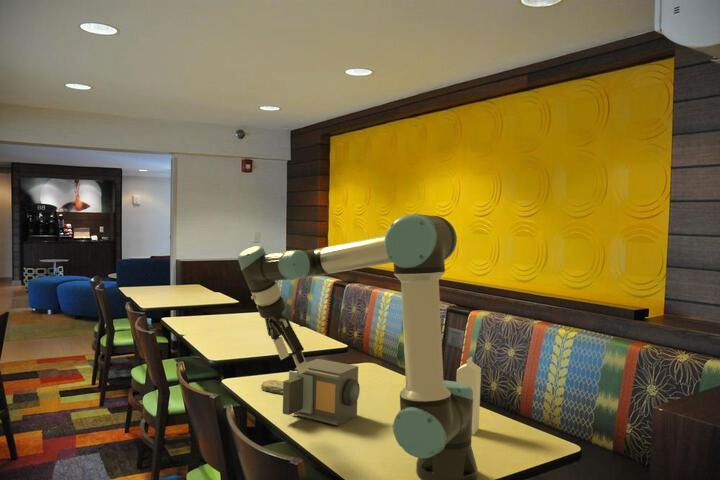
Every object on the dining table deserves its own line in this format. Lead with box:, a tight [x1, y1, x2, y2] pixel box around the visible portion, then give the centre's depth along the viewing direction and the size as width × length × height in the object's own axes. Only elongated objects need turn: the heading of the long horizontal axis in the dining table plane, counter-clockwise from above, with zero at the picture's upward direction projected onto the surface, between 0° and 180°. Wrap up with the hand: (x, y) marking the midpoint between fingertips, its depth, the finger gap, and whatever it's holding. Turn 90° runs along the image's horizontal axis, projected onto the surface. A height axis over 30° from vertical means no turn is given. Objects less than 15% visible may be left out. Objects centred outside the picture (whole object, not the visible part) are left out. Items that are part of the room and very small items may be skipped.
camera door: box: [282, 370, 314, 416], centre depth 172 cm, size 9×8×12 cm
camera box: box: [293, 358, 361, 427], centre depth 176 cm, size 18×12×16 cm
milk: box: [456, 356, 482, 436], centre depth 168 cm, size 6×6×22 cm
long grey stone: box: [260, 379, 284, 395], centre depth 198 cm, size 35×5×10 cm
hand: (294, 364), depth 160 cm, fingers open, 13 cm apart
